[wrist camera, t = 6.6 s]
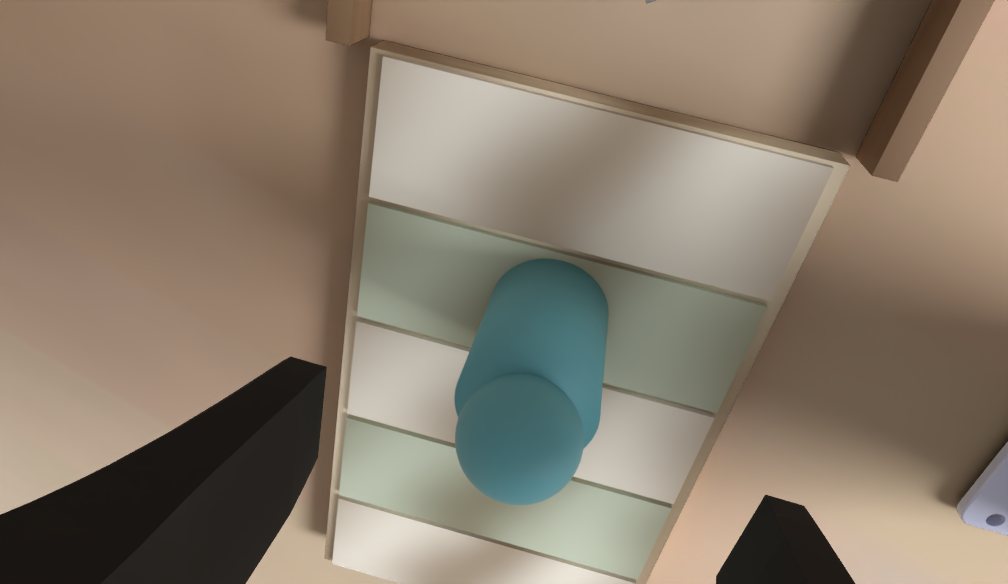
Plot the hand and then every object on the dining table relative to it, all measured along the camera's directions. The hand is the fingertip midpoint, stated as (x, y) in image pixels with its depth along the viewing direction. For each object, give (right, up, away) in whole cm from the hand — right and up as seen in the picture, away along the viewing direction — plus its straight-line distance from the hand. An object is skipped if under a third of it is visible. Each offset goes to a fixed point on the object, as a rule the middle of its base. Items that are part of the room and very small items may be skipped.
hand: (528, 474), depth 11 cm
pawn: (+1, +2, +8) cm, 9 cm away
